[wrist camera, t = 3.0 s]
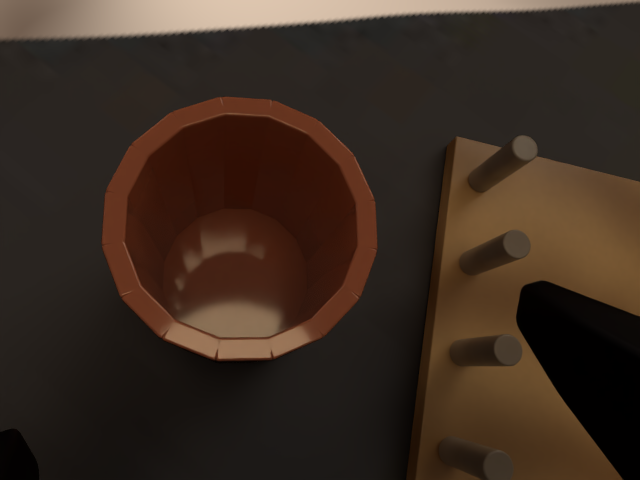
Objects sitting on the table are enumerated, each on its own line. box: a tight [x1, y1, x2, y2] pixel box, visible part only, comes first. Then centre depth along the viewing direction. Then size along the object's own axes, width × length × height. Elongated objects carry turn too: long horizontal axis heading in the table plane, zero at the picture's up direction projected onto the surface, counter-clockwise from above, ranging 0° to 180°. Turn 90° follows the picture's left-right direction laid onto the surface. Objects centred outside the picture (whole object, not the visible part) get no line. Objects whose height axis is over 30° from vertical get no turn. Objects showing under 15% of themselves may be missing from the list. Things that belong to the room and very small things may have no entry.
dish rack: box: [406, 135, 640, 480], centre depth 20 cm, size 14×12×4 cm
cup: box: [101, 97, 378, 363], centre depth 16 cm, size 6×6×8 cm
